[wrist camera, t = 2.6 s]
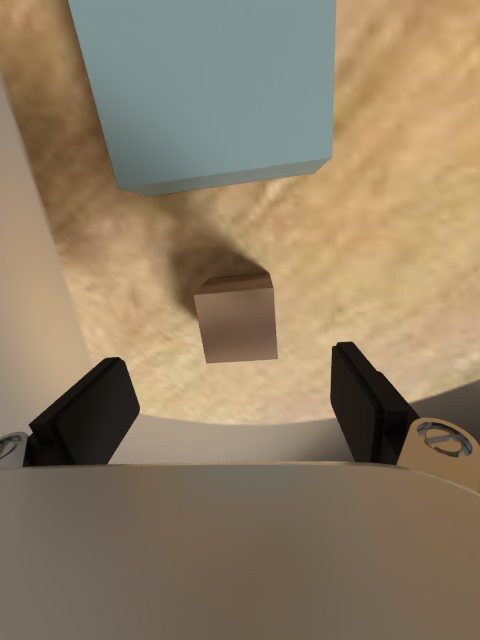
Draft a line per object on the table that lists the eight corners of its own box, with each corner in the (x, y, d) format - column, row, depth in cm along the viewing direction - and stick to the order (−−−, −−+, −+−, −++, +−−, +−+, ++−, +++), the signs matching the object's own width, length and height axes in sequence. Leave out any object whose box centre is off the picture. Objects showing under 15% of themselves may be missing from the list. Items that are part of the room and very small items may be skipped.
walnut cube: (208, 278, 19) (193, 295, 15) (269, 272, 19) (273, 287, 14) (217, 333, 21) (206, 363, 17) (273, 329, 21) (277, 359, 16)
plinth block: (92, -47, 13) (26, -157, 9) (315, -105, 12) (342, -256, 8) (147, 196, 17) (117, 188, 14) (314, 173, 16) (331, 157, 12)
